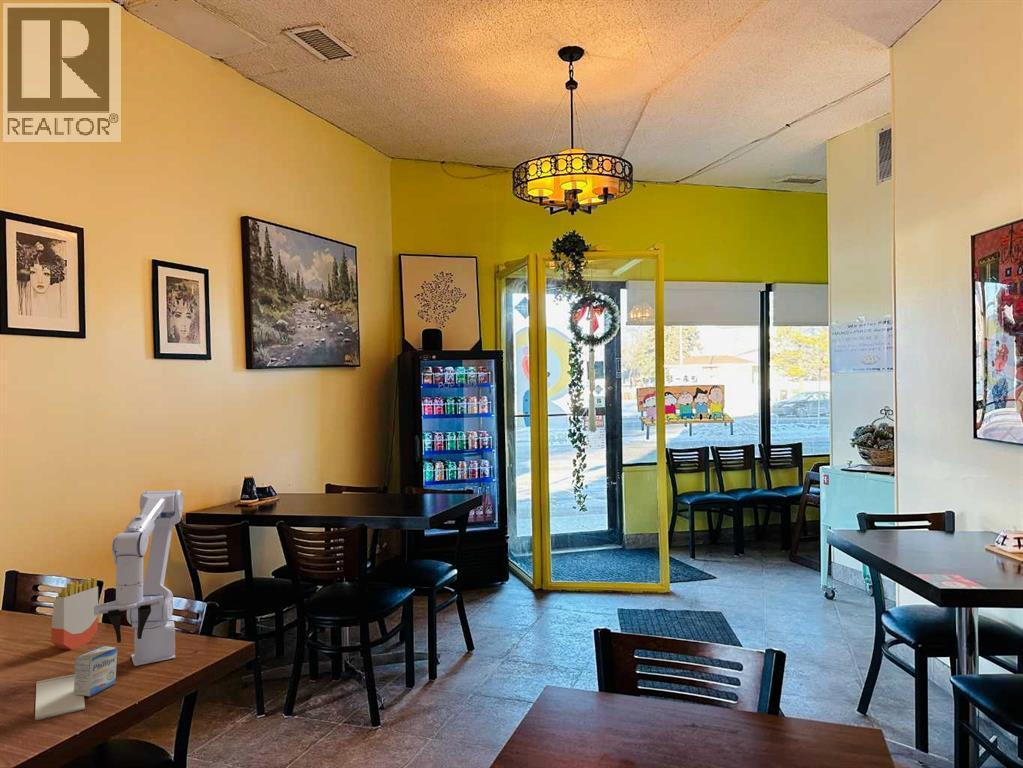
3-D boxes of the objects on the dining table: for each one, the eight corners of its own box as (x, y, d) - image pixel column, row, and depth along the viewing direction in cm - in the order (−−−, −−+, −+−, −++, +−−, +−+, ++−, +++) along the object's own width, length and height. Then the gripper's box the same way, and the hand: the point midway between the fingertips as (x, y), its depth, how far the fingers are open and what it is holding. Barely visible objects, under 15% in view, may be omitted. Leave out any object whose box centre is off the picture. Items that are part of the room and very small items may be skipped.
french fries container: (50, 651, 181) (50, 584, 181) (84, 637, 192) (85, 573, 192) (63, 653, 180) (64, 585, 180) (97, 638, 191) (98, 575, 191)
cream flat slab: (81, 674, 167) (81, 672, 167) (85, 709, 148) (85, 707, 148) (36, 683, 161) (36, 681, 161) (35, 720, 143) (35, 718, 143)
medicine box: (89, 697, 154) (91, 658, 154) (72, 695, 155) (75, 656, 155) (116, 683, 161) (118, 647, 162) (100, 681, 162) (102, 645, 163)
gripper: (95, 591, 155) (94, 651, 155) (165, 581, 163) (165, 638, 163) (93, 584, 161) (92, 641, 160) (161, 575, 169) (161, 629, 169)
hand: (129, 639), depth 162 cm, fingers open, 4 cm apart
